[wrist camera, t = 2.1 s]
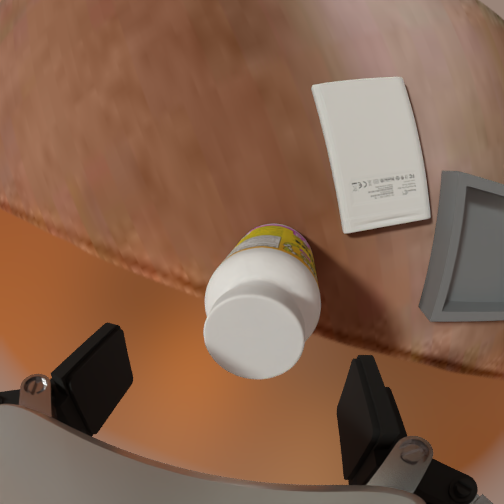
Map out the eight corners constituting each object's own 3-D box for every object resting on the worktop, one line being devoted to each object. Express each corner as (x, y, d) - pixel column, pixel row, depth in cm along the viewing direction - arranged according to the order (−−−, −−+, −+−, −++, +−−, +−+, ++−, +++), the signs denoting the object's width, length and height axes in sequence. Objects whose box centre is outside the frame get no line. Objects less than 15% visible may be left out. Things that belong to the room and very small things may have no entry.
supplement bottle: (317, 290, 25) (330, 389, 12) (245, 298, 26) (204, 395, 14) (307, 215, 23) (319, 263, 11) (230, 227, 24) (165, 283, 12)
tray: (527, 195, 18) (544, 199, 15) (503, 308, 22) (516, 319, 19) (441, 170, 20) (458, 171, 17) (418, 306, 24) (429, 321, 21)
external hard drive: (397, 81, 19) (425, 215, 22) (310, 90, 21) (341, 230, 24) (403, 76, 18) (432, 218, 20) (311, 84, 19) (344, 234, 22)
